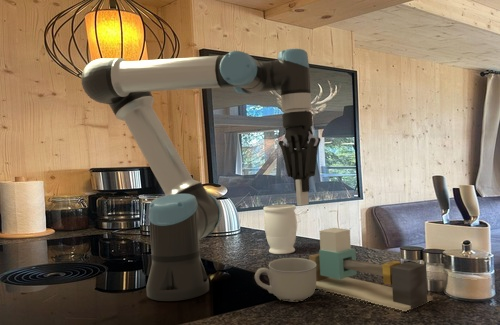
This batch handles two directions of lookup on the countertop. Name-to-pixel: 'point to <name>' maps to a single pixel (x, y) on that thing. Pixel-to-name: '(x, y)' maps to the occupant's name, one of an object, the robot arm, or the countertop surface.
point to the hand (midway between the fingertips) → (302, 204)
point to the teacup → (290, 278)
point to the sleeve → (335, 253)
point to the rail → (394, 273)
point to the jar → (280, 228)
